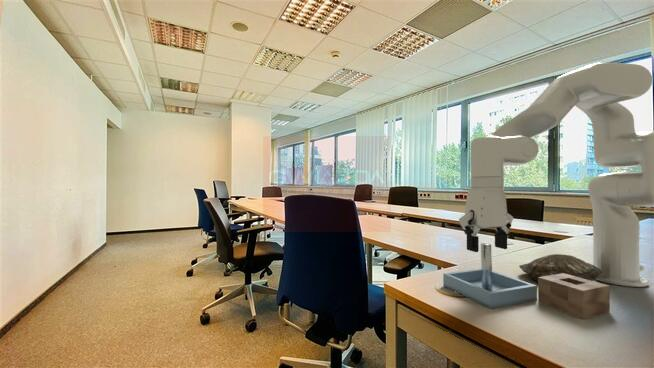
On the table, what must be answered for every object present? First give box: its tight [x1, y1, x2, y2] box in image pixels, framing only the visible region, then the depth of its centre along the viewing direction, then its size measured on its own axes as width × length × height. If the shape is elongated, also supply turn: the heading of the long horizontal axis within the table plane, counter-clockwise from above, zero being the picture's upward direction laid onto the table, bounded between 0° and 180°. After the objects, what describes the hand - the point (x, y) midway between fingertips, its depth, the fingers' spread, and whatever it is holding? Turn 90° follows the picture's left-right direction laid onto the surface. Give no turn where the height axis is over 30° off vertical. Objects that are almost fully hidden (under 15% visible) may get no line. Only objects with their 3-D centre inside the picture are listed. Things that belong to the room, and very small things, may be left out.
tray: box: [442, 268, 538, 309], centre depth 73 cm, size 15×15×4 cm
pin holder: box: [537, 273, 611, 320], centre depth 64 cm, size 9×9×6 cm
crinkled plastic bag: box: [519, 253, 602, 282], centre depth 82 cm, size 16×9×20 cm
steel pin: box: [480, 243, 493, 291], centre depth 73 cm, size 2×2×12 cm
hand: (487, 249), depth 73 cm, fingers open, 9 cm apart
